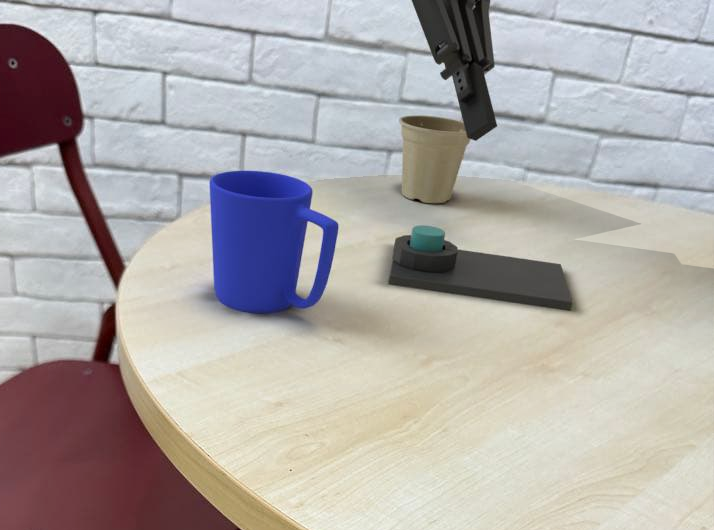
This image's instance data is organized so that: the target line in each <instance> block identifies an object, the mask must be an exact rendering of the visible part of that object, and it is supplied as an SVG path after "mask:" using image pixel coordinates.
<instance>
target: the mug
mask: <svg viewBox="0 0 714 530" xmlns="http://www.w3.org/2000/svg"><path fill="white" fill-rule="evenodd" d="M208 184H209V203H210V204H209V205H210V224H211V225H210V226H211V247H212V249H211V250H212V268H213V269H212V270H213V285H214V286H213V287H214V293H215V296H216V298H217V301H219V303H220V304H222V305H223V306H225V307H227V308H230V309H232V310H235V311H240V312H245V313H250V314H272V313H277V312H278V313H279V312H282V311H284V310H286V309H288V308H289V307H290V306H293V307H295V308H297V309H303V310H304V309H309V308H311V307H314V306H315V305H316V304H318V302H319V301H320V300H321V298H322V296H323V295H324V292H325V290H326V288H327V285H328V282H329V277H330V274H331V270H332V265H333V261H334V257H335V251H336V246H337V240H338V235H339V223H338V222H337V221H336V220H335V219H333V218H332V217H330V216H328V215H325V214H324V213H321V212H319V211H316V210H314V209H311V204H312V199H313V192H314V191H313V188H312V186H311V185H310V184H308V182H305V181H304V180H301V179H298V178H296V177H295V176H294V177H293V176H290V175H287V174H282V173H277V172H271V171H263V170H230V171H224V172H220V173H217V174H215V175H213V176H212V177H211V178H210V180H209V183H208ZM308 222H309V223H312V224H313V225H316V226H318V227H319V228H321V229H322V238H321V245H320V251H319V252H320V253H319V257H318V263H317V269H316V272H315V276H314V281H313V285H312V287H311V290H310V292H309V295H308V296H307V297H306V298H303V297H301V296H300V295H299V294H297V286H298V281H299V275H300V268H301V263H302V257H303V251H304V246H305V241H306V234H307V229H308Z"/></svg>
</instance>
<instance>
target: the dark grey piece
mask: <svg viewBox="0 0 714 530" xmlns="http://www.w3.org/2000/svg"><path fill="white" fill-rule="evenodd" d="M410 239H411V234H403V235H401V236H397V237H396V238H395V239H394V245H393V252H392V261H391V266H390V270H389V277H388V283H387V284H388V285H389V286H390V285H391V286H397V287H405V288H411V289H412V288H413V289H418V290H424V291H431V292H439V293H446V294H451V295H459V296H466V297H473V298H479V299H480V298H481V299H486V300H492V301H493V300H494V301H500V302H501V301H502V302H507V303H515V304H522V305H528V306H534V307H542V308H549V309H556V310H562V311H571V310H572V306H573V298H572V296H571V295H572V294H571V293H570V289H569V285H568V283H567V279H566V277H565V276H566V275H565V273H564V270H563V267H562V264H561V263H555V262H550V261H541V260H535V259H528V258H520V257H515V256H514V257H513V256H506V255H500V254H494V253H493V254H492V253H486V252H480V251H472V250H465V249H459V248H458V246H457V245H455V244H454V243H452V242H451V241H450V240H446V239H444V244H443V249H442V251H437V252H429V251H422V250H418V249H415V248H412V247H410V246H409V245H410Z"/></svg>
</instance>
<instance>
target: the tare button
mask: <svg viewBox="0 0 714 530" xmlns="http://www.w3.org/2000/svg"><path fill="white" fill-rule="evenodd" d="M410 235H411V239H410V245H409V246H410V247H412V248H415V249H418V250H422V251H429V252H437V251H442V249H443V244H444V240H445V239H446V231H445V230H444V229H442V228H439V227H436V226H432V225H426V224H425V225H424V224H422V225H415V226H413V227H412V228H411V234H410Z"/></svg>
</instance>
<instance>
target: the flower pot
mask: <svg viewBox="0 0 714 530" xmlns="http://www.w3.org/2000/svg"><path fill="white" fill-rule="evenodd" d="M398 123H399V124H400V125H401V127H400V130H401V131H400V132H401V133H400V134H401V137H402V165H401V167H402V168H401V194H402V196H403V197H405V198H406V199H409V200H415V199H416V200H419V201H421V202H422V203H426V204H443V203H446V202H447V201H449V200H451V197H452V194H453V191H454V187H455V185H456V181H457V178H458V174H459V171H460V168H461V165H462V161H463V160H464V156H465V153H466V149H467V147H468V145H469V144H470V142H471V139H469V138H467V134H466V130H465V126H464V122H463V120H458V119H453V118H450V117H444V116H435V115H425V114H414V115H412V114H411V115H404V116H401V117H399V118H398Z"/></svg>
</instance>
